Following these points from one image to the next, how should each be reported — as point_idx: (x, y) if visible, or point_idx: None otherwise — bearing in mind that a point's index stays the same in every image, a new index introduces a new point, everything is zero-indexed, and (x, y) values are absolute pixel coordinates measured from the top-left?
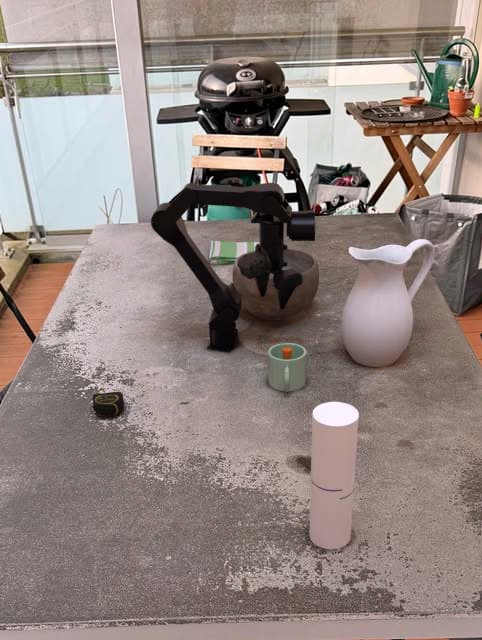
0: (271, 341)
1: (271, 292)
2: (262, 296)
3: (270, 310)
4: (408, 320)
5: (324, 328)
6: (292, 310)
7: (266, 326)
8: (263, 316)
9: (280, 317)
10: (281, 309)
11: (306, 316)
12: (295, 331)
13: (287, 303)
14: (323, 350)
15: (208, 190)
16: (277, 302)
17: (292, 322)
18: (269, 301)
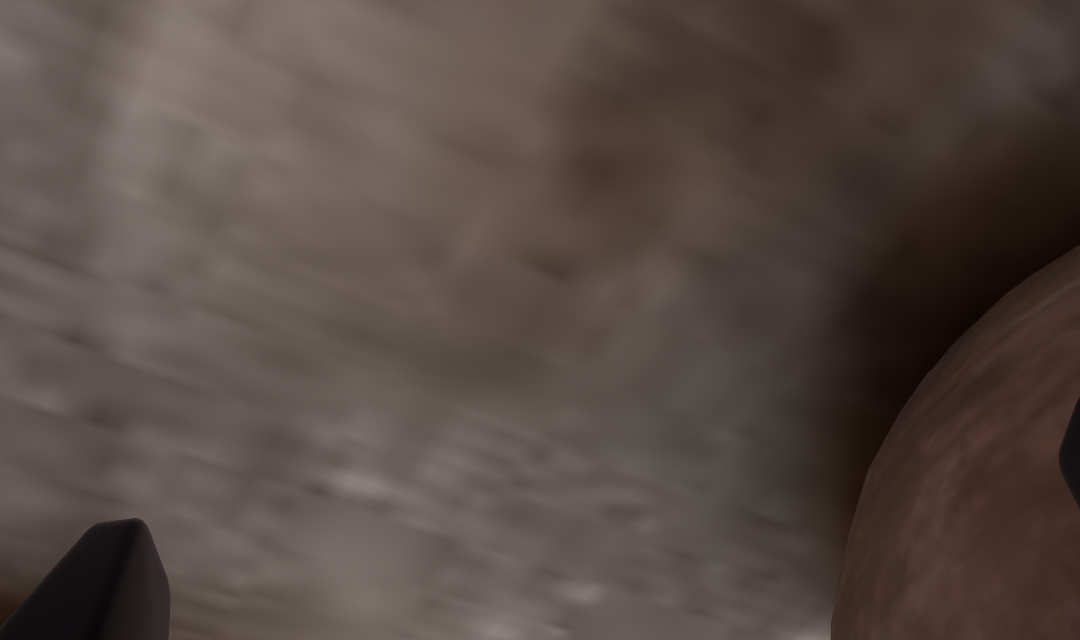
0: (621, 102)
1: None
2: (1077, 416)
3: (1003, 360)
4: None
5: (577, 610)
6: (847, 553)
7: (967, 212)
8: (1072, 251)
9: (911, 396)
10: (99, 534)
11: None
12: (676, 406)
13: (887, 595)
14: (153, 473)
15: None
16: (978, 516)
17: (852, 448)
18: None
